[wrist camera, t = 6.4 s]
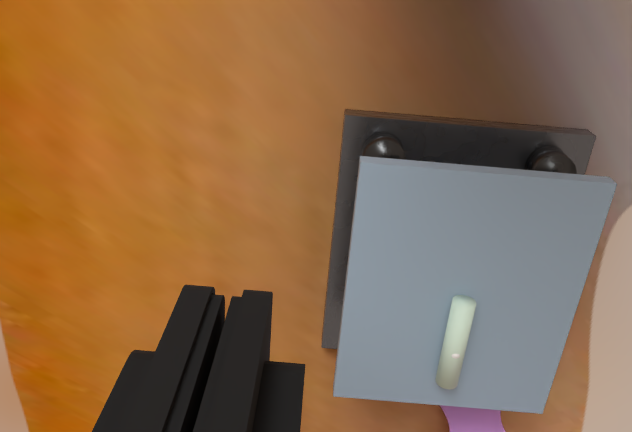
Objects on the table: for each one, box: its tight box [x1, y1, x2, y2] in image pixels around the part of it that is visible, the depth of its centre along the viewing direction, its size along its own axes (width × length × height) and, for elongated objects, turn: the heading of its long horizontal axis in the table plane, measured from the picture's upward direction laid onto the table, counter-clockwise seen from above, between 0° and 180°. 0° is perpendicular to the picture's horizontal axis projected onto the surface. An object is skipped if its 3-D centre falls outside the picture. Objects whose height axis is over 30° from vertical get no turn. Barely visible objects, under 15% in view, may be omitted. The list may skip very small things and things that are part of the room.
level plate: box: [333, 156, 617, 414], centre depth 40 cm, size 19×16×3 cm
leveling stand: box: [322, 109, 596, 349], centre depth 45 cm, size 21×18×6 cm
